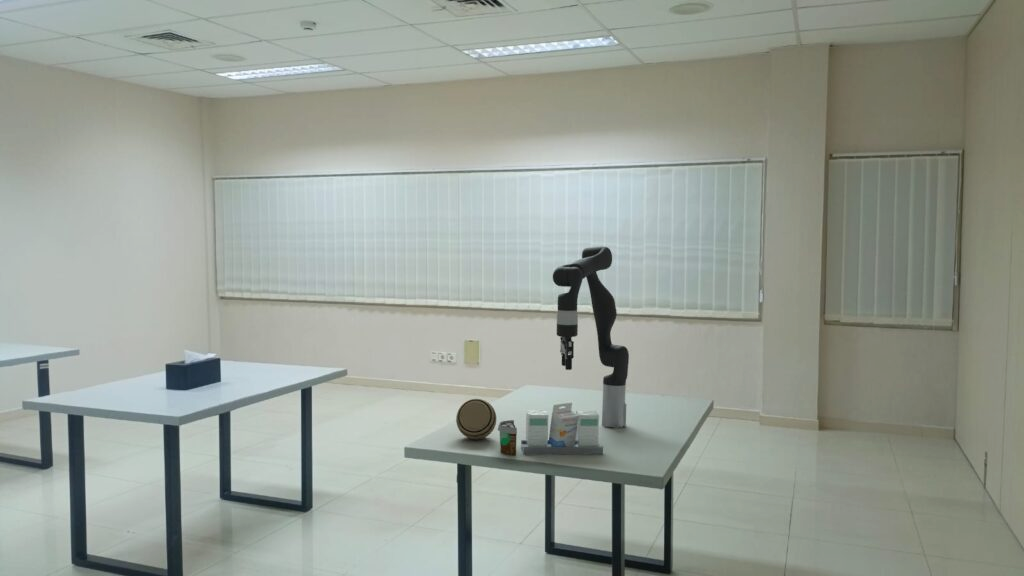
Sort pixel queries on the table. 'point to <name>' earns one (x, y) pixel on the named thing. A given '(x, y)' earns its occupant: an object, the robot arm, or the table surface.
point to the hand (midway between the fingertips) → (566, 367)
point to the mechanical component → (476, 419)
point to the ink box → (563, 426)
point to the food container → (507, 437)
